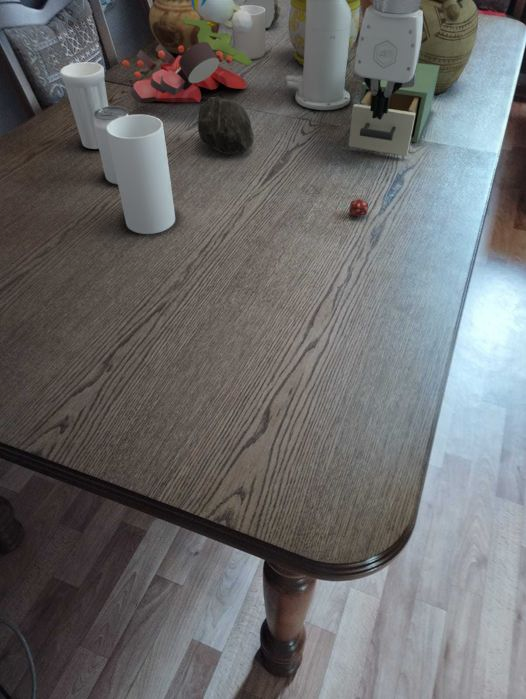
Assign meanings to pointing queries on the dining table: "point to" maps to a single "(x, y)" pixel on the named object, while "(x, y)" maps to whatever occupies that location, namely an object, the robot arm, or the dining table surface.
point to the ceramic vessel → (448, 38)
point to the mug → (252, 34)
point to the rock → (225, 126)
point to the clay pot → (175, 24)
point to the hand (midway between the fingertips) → (378, 115)
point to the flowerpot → (299, 25)
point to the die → (358, 207)
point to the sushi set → (196, 58)
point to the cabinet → (416, 93)
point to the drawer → (385, 125)
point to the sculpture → (267, 10)
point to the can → (100, 124)
